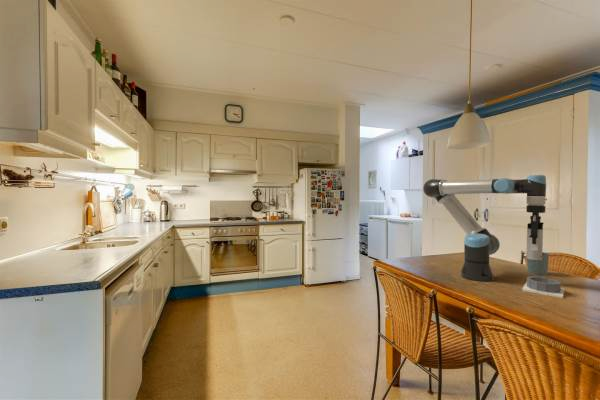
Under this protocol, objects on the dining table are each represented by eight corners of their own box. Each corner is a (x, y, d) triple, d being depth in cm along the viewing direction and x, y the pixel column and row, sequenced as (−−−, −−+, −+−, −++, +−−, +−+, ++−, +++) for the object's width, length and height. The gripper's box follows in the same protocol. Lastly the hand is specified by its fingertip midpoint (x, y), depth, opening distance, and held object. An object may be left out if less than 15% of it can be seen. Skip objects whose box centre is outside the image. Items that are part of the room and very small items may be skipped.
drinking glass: (546, 272, 164) (547, 252, 164) (550, 276, 155) (550, 255, 155) (524, 270, 169) (525, 250, 169) (527, 274, 161) (527, 253, 160)
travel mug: (545, 262, 142) (546, 223, 141) (530, 261, 143) (531, 222, 142) (538, 259, 148) (539, 222, 147) (523, 259, 149) (524, 221, 149)
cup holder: (522, 290, 132) (522, 280, 132) (526, 284, 142) (526, 274, 142) (563, 298, 122) (563, 286, 122) (564, 290, 132) (564, 280, 132)
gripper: (543, 205, 135) (542, 253, 136) (546, 204, 149) (545, 248, 149) (524, 205, 140) (523, 250, 141) (528, 204, 154) (527, 246, 155)
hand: (534, 249), depth 145 cm, fingers closed on travel mug, 6 cm apart
